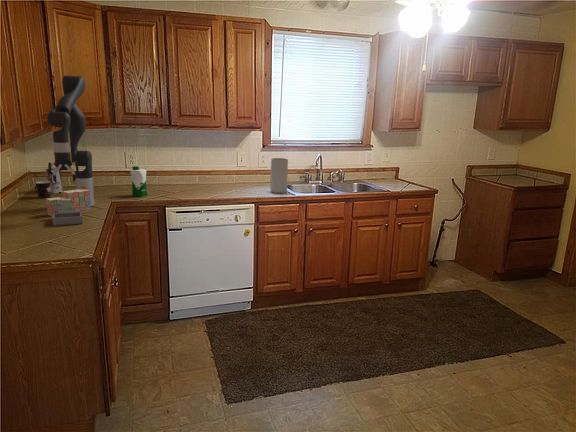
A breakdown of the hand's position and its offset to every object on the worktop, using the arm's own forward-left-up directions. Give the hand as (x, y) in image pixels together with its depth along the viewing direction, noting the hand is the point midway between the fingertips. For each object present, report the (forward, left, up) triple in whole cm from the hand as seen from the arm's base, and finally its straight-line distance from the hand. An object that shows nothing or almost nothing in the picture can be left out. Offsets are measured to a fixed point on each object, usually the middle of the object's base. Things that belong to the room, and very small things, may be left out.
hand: (64, 181), depth 226 cm
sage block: (0, 0, -20) cm, 20 cm away
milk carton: (-49, +44, -20) cm, 69 cm away
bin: (+11, 0, -20) cm, 22 cm away
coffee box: (-78, -8, -20) cm, 81 cm away
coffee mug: (-60, -15, -20) cm, 65 cm away
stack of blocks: (-12, +1, -20) cm, 23 cm away
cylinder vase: (-35, +143, -20) cm, 148 cm away
